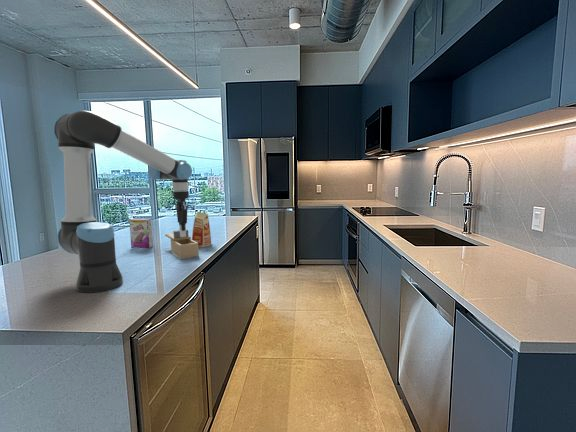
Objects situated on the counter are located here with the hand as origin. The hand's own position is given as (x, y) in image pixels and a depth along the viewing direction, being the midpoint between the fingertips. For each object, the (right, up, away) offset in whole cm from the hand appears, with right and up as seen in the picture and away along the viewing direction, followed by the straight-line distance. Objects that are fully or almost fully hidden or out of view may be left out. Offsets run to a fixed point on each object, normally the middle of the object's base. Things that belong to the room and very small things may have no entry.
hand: (183, 236), depth 167 cm
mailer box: (0, -9, +1) cm, 9 cm away
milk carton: (+4, -7, +23) cm, 24 cm away
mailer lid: (-6, -1, +10) cm, 12 cm away
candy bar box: (-30, -8, +20) cm, 36 cm away
